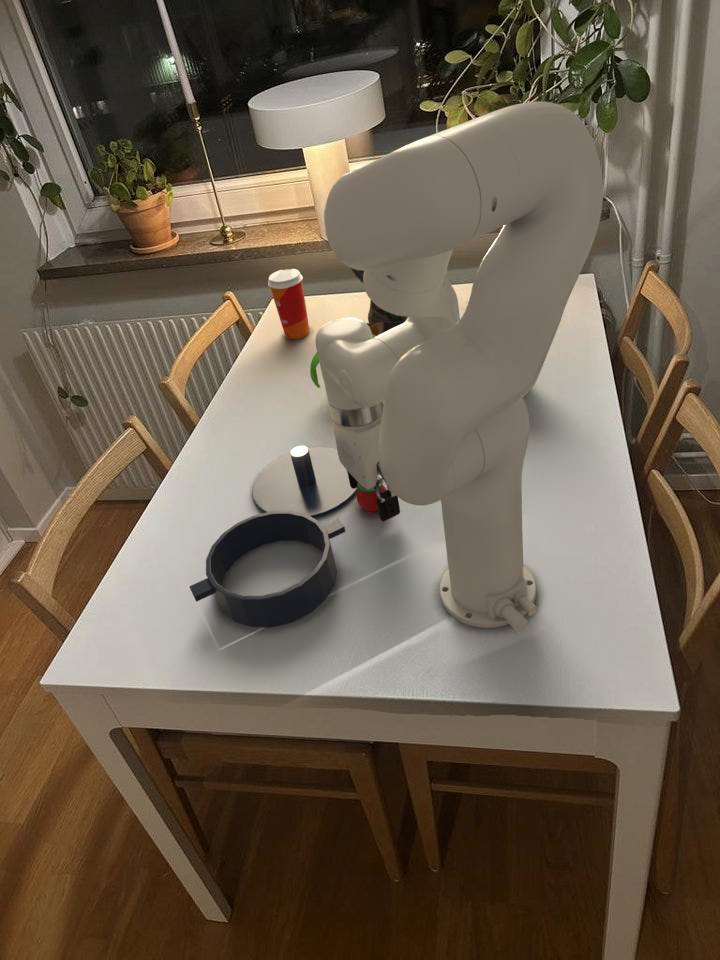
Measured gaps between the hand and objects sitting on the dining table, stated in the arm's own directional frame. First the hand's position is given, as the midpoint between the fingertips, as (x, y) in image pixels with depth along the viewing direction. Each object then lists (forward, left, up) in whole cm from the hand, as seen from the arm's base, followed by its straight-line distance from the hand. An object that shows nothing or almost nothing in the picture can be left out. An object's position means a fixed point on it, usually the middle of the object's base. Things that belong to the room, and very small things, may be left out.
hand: (374, 500), depth 113 cm
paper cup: (+65, -15, -2) cm, 67 cm away
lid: (+13, +6, -2) cm, 14 cm away
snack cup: (+35, -14, -2) cm, 38 cm away
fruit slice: (+49, -25, 0) cm, 55 cm away
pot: (-5, +19, -2) cm, 20 cm away
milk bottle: (+34, -34, -2) cm, 48 cm away
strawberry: (+1, 0, -2) cm, 2 cm away
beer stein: (+51, -34, -2) cm, 62 cm away
